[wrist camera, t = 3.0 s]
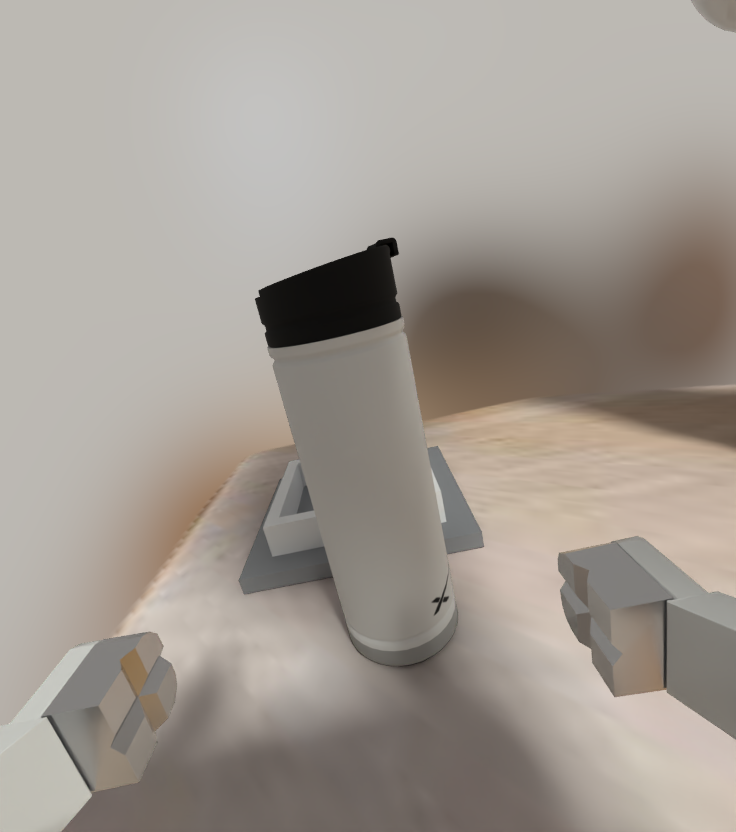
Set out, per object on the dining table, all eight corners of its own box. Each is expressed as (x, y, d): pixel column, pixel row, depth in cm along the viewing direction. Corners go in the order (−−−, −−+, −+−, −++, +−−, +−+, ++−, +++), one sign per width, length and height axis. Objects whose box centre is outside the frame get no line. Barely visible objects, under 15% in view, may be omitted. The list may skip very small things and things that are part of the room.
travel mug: (485, 639, 21) (417, 225, 15) (363, 687, 20) (241, 261, 14) (437, 568, 27) (375, 249, 21) (341, 602, 26) (247, 275, 20)
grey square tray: (439, 456, 44) (433, 423, 42) (483, 546, 28) (476, 499, 27) (283, 488, 44) (273, 457, 43) (243, 594, 29) (227, 549, 28)
